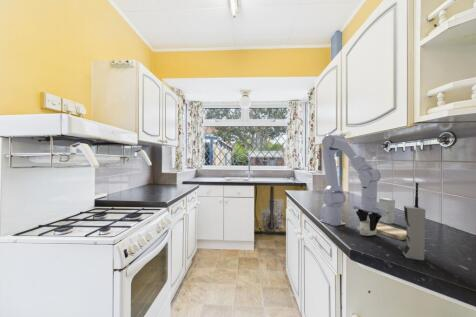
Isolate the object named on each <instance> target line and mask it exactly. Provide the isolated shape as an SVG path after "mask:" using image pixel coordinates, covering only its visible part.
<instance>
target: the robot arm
mask: <svg viewBox="0 0 476 317" xmlns="http://www.w3.org/2000/svg"><path fill="white" fill-rule="evenodd" d="M321 144H322V159H323V167H324V173H325V182H326V187H325V188H324V189H323V190H322V192H323V193H322V201H323V203H324V204H322V206H321V212H320V219H319V221H320V222H322V223H324V224H327V225H331V226H332V227H333V226H342V225H343V226H344V225H346V223H345V222H343V221H342V212H343V210H342V209H343V206H344V204H345V203H346V194H345V193H344V190H343V188H342V187H341V186H340V184H339V178H338V172H337V166H336V165H337V164H336V159H335V154H336V153H338V152H339V151H341V152H342V153H343V154H344V155H345V156H346V157H347V158H348V160H350V163H349V164H350V165H351V167H352V168H353V169H354V170H355V172H356V173H357V174H358V180H359V181H360V186H361V198H360V200H361V202H360V203H361V204H355V203H354V204H352V209H353V210H356V211H355V214H356V215H357V217H358V220H359V222H360V221H367V220H370V231H375V229H376V226H377V224H378V223H379V222H380V221H379V220H380V218H381V217H382V216H387V211H384V210H381V209H379V207H378V208H377V206H378V205H377V204H378V202H377V201H378V182H379V181H380V180H381V172H380V171H379V169H377V168H373V166H372V165H370V164H369V163H368V161H367V160H366V157H364V156H361V155H357V153H356V152H355V150H354V149H353V148H352V146H351V145H350V143H349V142H348V139H347V138H346V137H345V136H344V135H338V134H337V135H336V134H326V135H325V136H324V137H323V138H322V140H321ZM368 218H369V219H368Z"/></svg>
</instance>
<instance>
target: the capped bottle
mask: <svg viewBox="0 0 476 317" xmlns="http://www.w3.org/2000/svg"><path fill="white" fill-rule="evenodd" d="M356 230H357V231H359V235H362V236H366V237H367V236H374V235H377V234H378V233H377V226H376V229H375V231H370V219H367V221H360V220H359V226H357V227H356Z"/></svg>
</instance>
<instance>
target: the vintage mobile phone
mask: <svg viewBox="0 0 476 317" xmlns="http://www.w3.org/2000/svg"><path fill="white" fill-rule="evenodd" d="M403 209H404V210H403V212H404V221H405V223H406V231H407V233H406V239H405V241H406V242H405V246H404V248H403V250H402V254H403V255H404V256H405V258H406V259H410V260H411V259H412V260H418V261H425V248H426V247H425V245H426V244H425V241H426V209H425V208H423V207H421V206H419V182H415V196H414V206H412V205H403Z"/></svg>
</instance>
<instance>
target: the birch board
mask: <svg viewBox="0 0 476 317" xmlns="http://www.w3.org/2000/svg"><path fill="white" fill-rule="evenodd" d="M406 233H407V230H404V229H401V228H396V227H393V226H391V225H387V224H383V223H379V222H378V223H377V234H380V235H383V236H387V237H390V238H392V239H395V240H398V241H403V240H406Z"/></svg>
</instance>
